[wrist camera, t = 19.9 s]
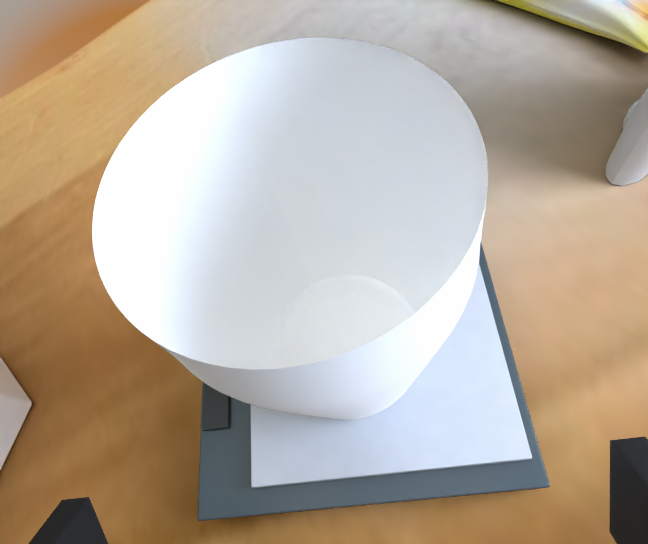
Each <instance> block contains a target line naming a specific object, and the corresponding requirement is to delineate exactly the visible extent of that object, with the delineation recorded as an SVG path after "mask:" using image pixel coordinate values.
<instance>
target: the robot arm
mask: <svg viewBox="0 0 648 544" xmlns="http://www.w3.org/2000/svg"><path fill="white" fill-rule="evenodd" d="M610 533H611V535H612V536H613V538H614V539H615V541H616V542H617V544H648V440H647V438H646V437H638V438H629V439H619V440H610ZM29 544H108V542H107V540H106V537H105V535H104V533H103V530H102V528H101V525H100V523H99V521H98V518H97V516H96V513H95V511H94V509H93V506H92V504H91V501H90V499H89V497H86V498H76V499H67V500H62V501H61V502H60V503H59V505H58V506H57V507H56V509H55V510H54V511H53V513H52V514H51V515H50V517H49V518H48V519H47V520H46V522H45V523H44V524H43V526H42V527H41V528H40V530H39V531H38V532H37V534H36V535H35V536H34V537H33V539H32V540H31V541H30V543H29Z"/></svg>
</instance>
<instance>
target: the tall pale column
mask: <svg viewBox="0 0 648 544" xmlns="http://www.w3.org/2000/svg"><path fill="white" fill-rule="evenodd" d="M647 174H648V87H647V89H646V91H645V92H644V94H643V96H642V97H641V98H640V99H638V100H637V101H636V102H634V103H633V104H632V106H631V107H630V109H629V111H628V112H627V114H626V116H625V118H624V120H623V132H622V134H621V136H620V138H619V140H618V142H617V144H616V146H615V148H614V150H613V152H612V154H611V156H610V158H609V160H608V162H607V164H606V177H607V179H608V180H609V181H610V183H611V184H615V185H621V186H623V185H627V184H631V183H635V182H638V181H640V180H641V179H642V178H643V177H645V176H646V175H647Z"/></svg>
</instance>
